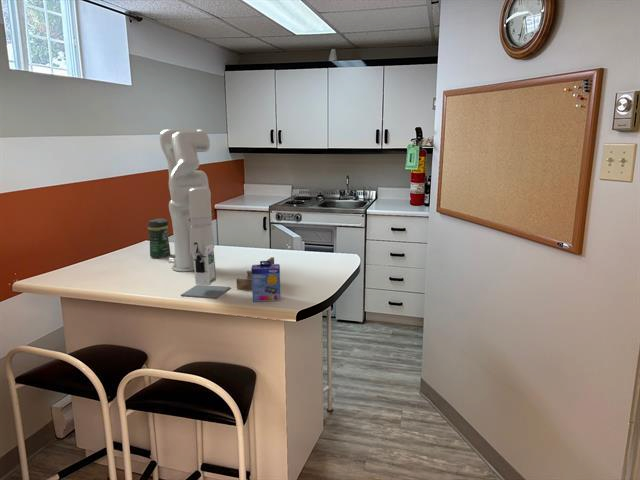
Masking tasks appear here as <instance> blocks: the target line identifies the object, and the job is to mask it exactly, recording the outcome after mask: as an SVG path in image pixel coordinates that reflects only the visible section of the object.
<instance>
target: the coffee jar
mask: <svg viewBox="0 0 640 480" xmlns="http://www.w3.org/2000/svg"><path fill="white" fill-rule="evenodd" d="M168 223H169V222H168V219H166V218H161V217H160V218H155V219H151V220H149V221H148V222H147V230H148V235H149V256H150V258H153V259H161V258H162V257H163V258H165V256H166V257H168V256H170V255H171V248H170V239H169V234H168V233H169V231H168V230H169V224H168Z"/></svg>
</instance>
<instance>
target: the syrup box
mask: <svg viewBox="0 0 640 480" xmlns="http://www.w3.org/2000/svg"><path fill="white" fill-rule="evenodd" d="M214 248H215V247H214ZM214 248H213V244H210V245H208V246H206V247H205V253H204V254H203V262H204V267H205V272H204V273H197V272H196V264H195V261H194V270H193V271H194V279H195V285H208V286H211V284H213V283H215V282H216V281H217V273H216V261H215V251H214V250H215V249H214ZM197 253H200V252H197ZM198 256H199V257H201V255H198ZM193 260H194V258H193Z"/></svg>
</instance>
